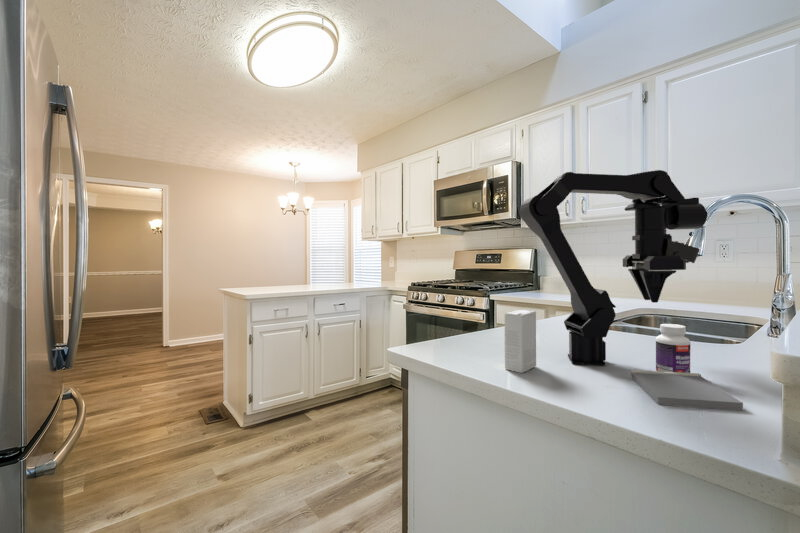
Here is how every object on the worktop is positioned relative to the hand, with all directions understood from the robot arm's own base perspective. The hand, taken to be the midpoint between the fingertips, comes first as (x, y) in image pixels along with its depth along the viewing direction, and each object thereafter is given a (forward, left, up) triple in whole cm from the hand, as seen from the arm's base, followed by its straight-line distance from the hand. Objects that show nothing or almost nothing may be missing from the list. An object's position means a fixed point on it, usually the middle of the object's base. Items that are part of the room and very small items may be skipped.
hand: (650, 301), depth 82 cm
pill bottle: (0, -11, -13) cm, 17 cm away
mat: (-3, -21, -13) cm, 24 cm away
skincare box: (-28, -12, -13) cm, 33 cm away
